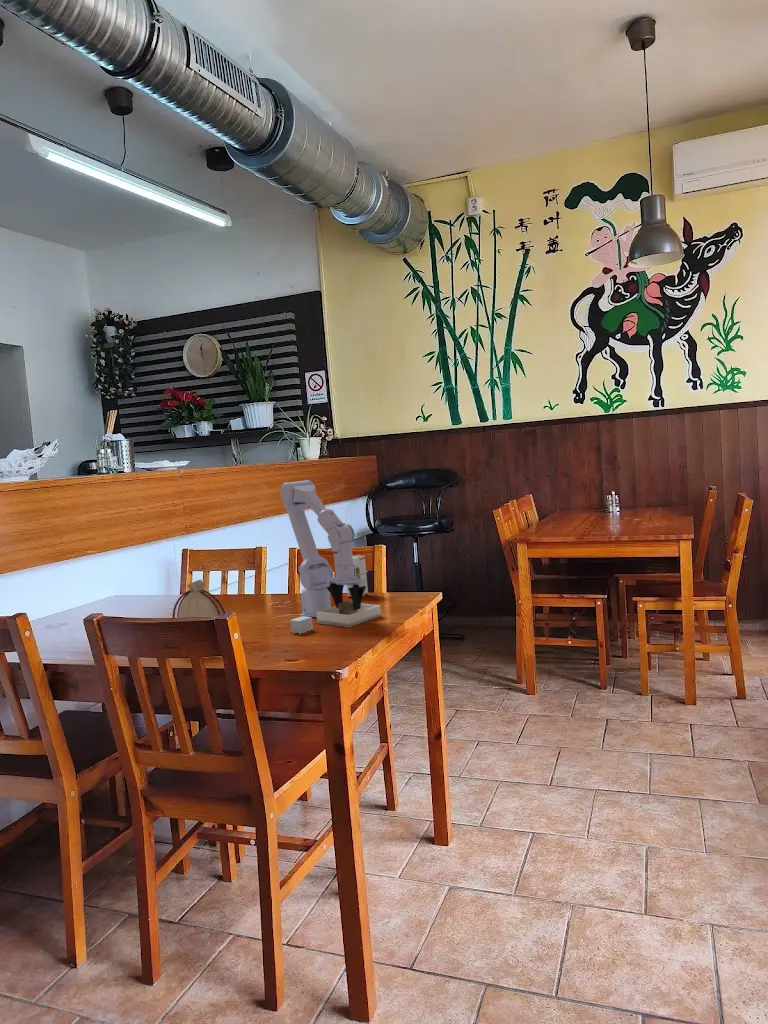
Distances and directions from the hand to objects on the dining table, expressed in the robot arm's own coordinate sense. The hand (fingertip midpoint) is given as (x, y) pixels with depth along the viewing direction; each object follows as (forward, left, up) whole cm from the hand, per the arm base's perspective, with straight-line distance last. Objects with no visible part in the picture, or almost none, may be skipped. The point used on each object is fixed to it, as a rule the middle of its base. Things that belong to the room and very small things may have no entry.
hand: (348, 608), depth 225 cm
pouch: (-20, -40, -4) cm, 45 cm away
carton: (-4, -16, -4) cm, 17 cm away
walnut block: (0, 0, -3) cm, 3 cm away
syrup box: (-23, +28, -4) cm, 36 cm away
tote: (0, 0, -4) cm, 4 cm away
